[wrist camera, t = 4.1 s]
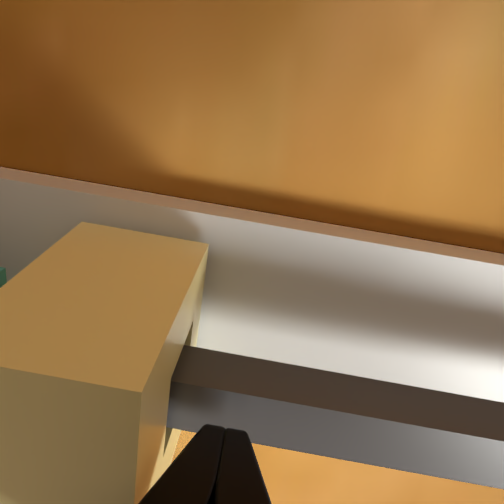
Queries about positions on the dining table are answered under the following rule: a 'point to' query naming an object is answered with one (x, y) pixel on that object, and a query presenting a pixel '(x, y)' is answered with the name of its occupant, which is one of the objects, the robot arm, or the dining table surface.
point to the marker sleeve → (94, 364)
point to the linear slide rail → (311, 327)
